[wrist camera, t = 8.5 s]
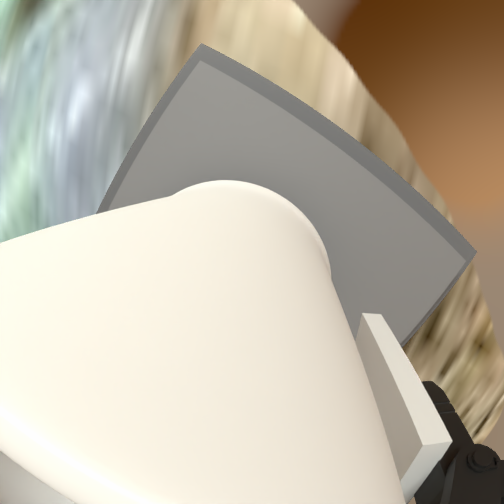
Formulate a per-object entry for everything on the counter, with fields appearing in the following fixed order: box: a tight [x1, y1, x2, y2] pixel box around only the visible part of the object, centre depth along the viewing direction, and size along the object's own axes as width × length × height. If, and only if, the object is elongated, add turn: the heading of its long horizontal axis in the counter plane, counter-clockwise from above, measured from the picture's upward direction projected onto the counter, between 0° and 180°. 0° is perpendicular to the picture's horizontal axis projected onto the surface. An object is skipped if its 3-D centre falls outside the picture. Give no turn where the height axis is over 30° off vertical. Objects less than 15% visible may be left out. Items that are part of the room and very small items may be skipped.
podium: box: [96, 43, 477, 348], centre depth 17 cm, size 18×18×4 cm
